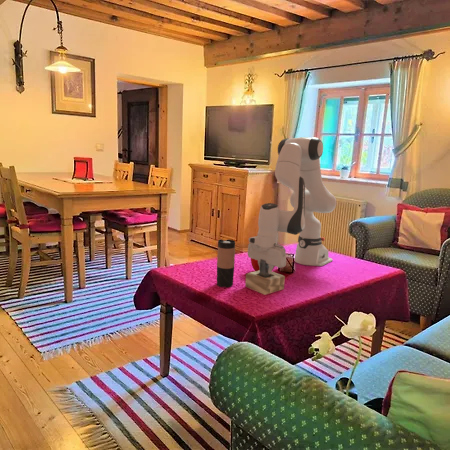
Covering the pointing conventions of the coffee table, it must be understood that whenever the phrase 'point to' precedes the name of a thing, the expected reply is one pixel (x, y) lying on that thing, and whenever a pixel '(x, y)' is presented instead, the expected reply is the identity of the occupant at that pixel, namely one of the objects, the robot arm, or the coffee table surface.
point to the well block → (265, 282)
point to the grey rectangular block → (264, 269)
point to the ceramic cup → (255, 264)
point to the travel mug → (225, 262)
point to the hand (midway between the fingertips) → (265, 272)
